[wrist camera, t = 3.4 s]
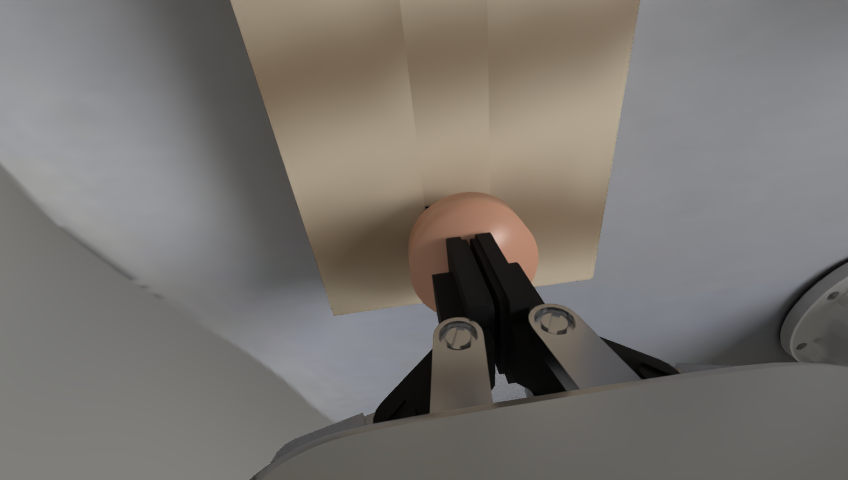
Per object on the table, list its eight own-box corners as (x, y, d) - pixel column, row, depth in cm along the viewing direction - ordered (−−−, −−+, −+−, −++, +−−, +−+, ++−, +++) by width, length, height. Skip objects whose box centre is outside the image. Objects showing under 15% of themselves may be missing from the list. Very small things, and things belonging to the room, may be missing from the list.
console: (552, 235, 22) (592, 278, 17) (345, 264, 22) (333, 315, 17) (602, -323, 11) (736, -569, 7) (196, -277, 11) (65, -502, 7)
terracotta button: (493, 237, 19) (535, 309, 14) (411, 249, 19) (418, 326, 14) (492, 154, 17) (542, 200, 11) (398, 167, 17) (400, 220, 11)
